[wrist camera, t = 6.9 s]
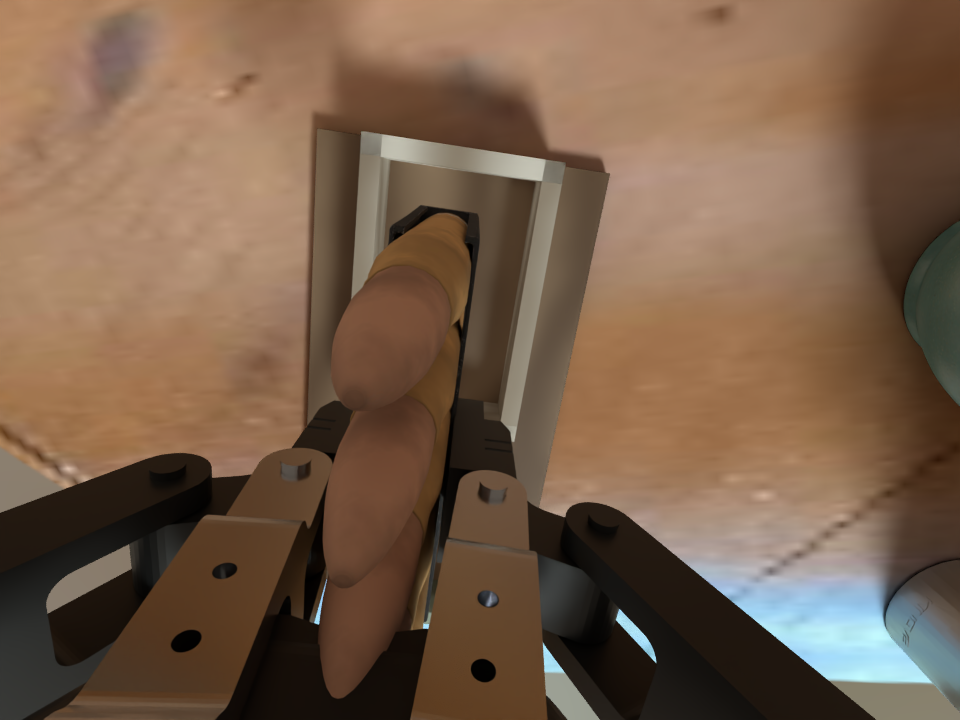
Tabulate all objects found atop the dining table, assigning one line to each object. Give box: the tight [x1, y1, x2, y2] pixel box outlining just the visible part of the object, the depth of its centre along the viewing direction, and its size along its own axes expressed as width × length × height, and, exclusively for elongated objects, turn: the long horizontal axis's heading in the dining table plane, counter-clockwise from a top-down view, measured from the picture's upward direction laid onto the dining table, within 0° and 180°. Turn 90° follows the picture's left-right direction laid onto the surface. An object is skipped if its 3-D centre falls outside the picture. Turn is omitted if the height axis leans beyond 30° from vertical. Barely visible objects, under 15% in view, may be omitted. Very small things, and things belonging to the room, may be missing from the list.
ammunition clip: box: [318, 205, 480, 699], centre depth 11 cm, size 11×2×12 cm, turn 172°
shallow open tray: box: [307, 128, 610, 624], centre depth 31 cm, size 16×30×4 cm, turn 172°
